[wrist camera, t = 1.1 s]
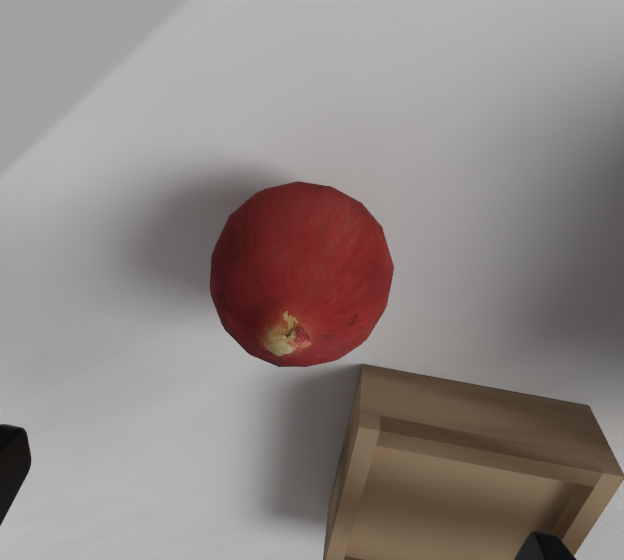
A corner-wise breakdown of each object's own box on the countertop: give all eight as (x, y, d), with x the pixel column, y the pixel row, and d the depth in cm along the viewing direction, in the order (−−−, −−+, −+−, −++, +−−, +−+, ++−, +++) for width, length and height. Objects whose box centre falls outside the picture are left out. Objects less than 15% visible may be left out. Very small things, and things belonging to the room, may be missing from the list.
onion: (343, 316, 22) (325, 467, 15) (219, 254, 21) (138, 382, 14) (419, 201, 19) (441, 322, 12) (279, 125, 18) (214, 206, 11)
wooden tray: (513, 544, 27) (531, 620, 24) (328, 508, 28) (321, 577, 24) (589, 406, 22) (625, 477, 19) (362, 364, 23) (359, 426, 19)
